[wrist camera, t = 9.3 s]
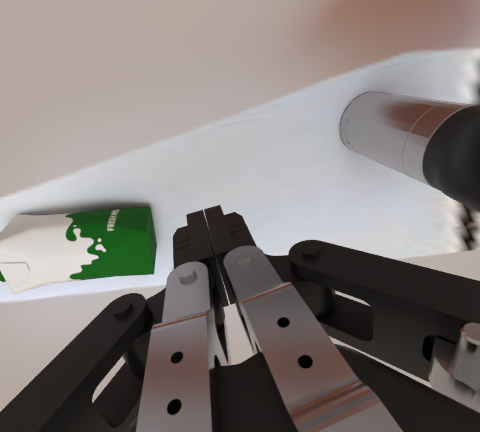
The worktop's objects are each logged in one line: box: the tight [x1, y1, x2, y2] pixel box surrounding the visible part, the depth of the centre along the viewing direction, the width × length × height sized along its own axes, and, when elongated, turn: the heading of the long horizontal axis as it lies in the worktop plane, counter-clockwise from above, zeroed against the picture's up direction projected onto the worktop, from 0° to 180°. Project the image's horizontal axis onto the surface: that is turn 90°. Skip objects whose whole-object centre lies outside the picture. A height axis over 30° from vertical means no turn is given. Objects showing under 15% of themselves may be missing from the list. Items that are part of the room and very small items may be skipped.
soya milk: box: [0, 207, 157, 294], centre depth 41 cm, size 9×9×20 cm
